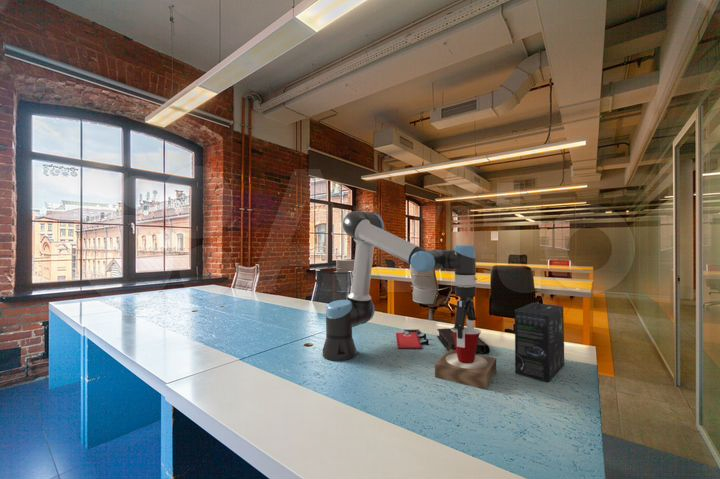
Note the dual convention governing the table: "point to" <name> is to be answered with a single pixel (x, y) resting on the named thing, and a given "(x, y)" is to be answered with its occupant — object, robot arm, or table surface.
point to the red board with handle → (410, 340)
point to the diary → (449, 343)
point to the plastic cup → (467, 345)
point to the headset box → (539, 340)
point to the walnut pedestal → (466, 370)
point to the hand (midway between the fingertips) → (466, 341)
